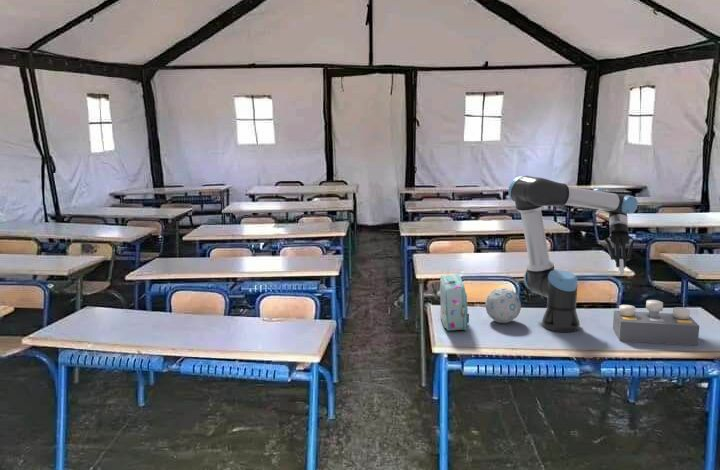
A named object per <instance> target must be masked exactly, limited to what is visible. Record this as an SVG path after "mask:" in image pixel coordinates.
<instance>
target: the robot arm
mask: <svg viewBox="0 0 720 470" xmlns="http://www.w3.org/2000/svg"><path fill="white" fill-rule="evenodd" d="M507 190H508V191H507V192H508V196H509V198H510V200H512V201H513V202H514V205H515V209H516V210H517V212H519V213H520V218H521V223H522V229H523V235H524V240H525V241H524V242H525V246H526V251H527V257H528V264H527V265H526V270H525V273H524V275H523V282H524V285H525V287H526V288H527V289H529V290H530V291H531V292H532V293H535V294H537V295H540V296H541V297H545V298H546V299H547V300H546V301H547V303H546V309H545V312H544V313H543V317H542V320H541V326H542V327H543V328H544V329H546V330H548V331H552V332H556V333H557V332H558V333H572V332H573V333H574V332H577V331H579V330H580V326H581V325H580V320H579V317H578V313H577V298H578V285H579V284H578V277H577V275H575V274H574V273H572V272H570V271H567V270H562V269H555V265H554V262H553V261H552V260H550V256H549V255H550V254H549V250H548V243H547V237H546V232H545V225H544V220H543V212H542V209H543V207H560V208H561V207H564V206H571V207H577V208H578V207H580V208H586V209H587V208H588V209H593V210H601V211H603V212H605V213H607V214H608V219H609V221H608V222H609V235H608V236H609V237H605V238H604V240H603V243H604V245H605V246H606V248H607V251H608V254H609V257H610V260H612V261H614V262H615V267H616V268H618V276H622V277H623V276H624V273H625V269H626V267H627V262H629V261H630V260H631V256H632V253H633V248H634V245H635V244H636V243H637V241H636V239H632V238H631V237H630V234H629V221H628V214H633V213H634V212H636V211H637V209H638V206H639V201H638V198H636V197H635V196H634V195H629V194H627V195H626V194H620V193H614V192H606V191H605V190H603V189H600V188H593V189H588V188H582V187H580V188H579V187H573V186H569V185H568V184H566V183H563V182H562V183H561V182H558V181H554V180H550V179H547V178H543V177H536V176H531V175H519V176H517V177H515V178H514V179H512V181H511V182H510V184H509V186H508V189H507ZM611 243H612V244H611ZM627 244H629V246H628V251H627V253H626V245H627ZM612 245H614V249H613V246H612ZM620 253H621V258H620ZM626 254H627V255H626Z"/></svg>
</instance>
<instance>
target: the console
mask: <svg viewBox="0 0 720 470" xmlns="http://www.w3.org/2000/svg"><path fill="white" fill-rule="evenodd" d="M672 314H673V313H669V312H668V313H666V312H659V318H649V311H648V312H647V311H635V316H632V317H628V316H622V315H620V314H619V310H613V320H612V321H613V322H612V330H613V332H614V333H615V335H616V338H617V339H618V340H619V341H620V342H632V343H633V342H634V343H648V344H649V343H650V344H664V345H666V344H667V345H679V346H682V345H683V346H698V345H699V335H700V325H699V324H698V322H696V321H695V320H694V319H693V317H692V316H690V318H689V319H686V320H684V319H676V318H674V317H673V316H672Z"/></svg>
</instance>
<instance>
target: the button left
mask: <svg viewBox="0 0 720 470" xmlns="http://www.w3.org/2000/svg"><path fill="white" fill-rule="evenodd" d="M618 311H619V314H620V315H622V316H628V317H632V316H635V312H636V307H635V306H634V305H630V304H621V305H618Z"/></svg>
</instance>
